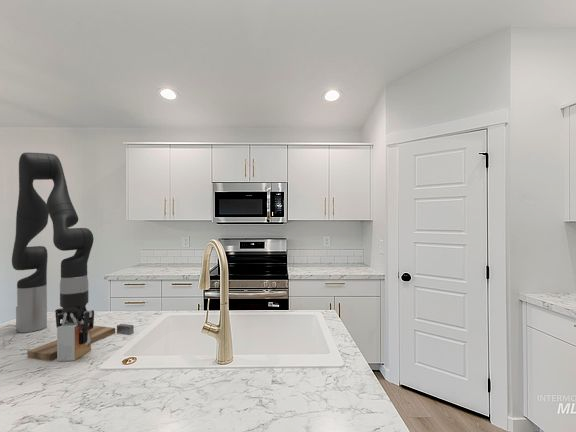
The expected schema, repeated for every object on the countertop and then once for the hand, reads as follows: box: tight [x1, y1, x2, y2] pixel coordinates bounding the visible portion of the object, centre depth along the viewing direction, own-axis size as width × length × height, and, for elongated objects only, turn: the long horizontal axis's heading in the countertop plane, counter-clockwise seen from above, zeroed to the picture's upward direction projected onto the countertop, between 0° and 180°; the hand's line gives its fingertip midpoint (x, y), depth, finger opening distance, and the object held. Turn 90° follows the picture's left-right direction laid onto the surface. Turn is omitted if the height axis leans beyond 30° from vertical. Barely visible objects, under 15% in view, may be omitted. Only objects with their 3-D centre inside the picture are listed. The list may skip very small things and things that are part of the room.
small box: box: [56, 320, 92, 362], centre depth 98 cm, size 8×6×10 cm
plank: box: [26, 325, 116, 362], centre depth 107 cm, size 10×24×2 cm, turn 163°
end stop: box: [116, 323, 135, 336], centre depth 117 cm, size 6×2×3 cm, turn 73°
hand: (74, 342), depth 98 cm, fingers closed on small box, 6 cm apart
